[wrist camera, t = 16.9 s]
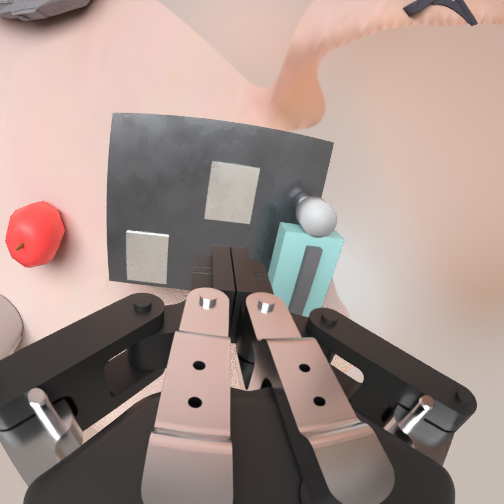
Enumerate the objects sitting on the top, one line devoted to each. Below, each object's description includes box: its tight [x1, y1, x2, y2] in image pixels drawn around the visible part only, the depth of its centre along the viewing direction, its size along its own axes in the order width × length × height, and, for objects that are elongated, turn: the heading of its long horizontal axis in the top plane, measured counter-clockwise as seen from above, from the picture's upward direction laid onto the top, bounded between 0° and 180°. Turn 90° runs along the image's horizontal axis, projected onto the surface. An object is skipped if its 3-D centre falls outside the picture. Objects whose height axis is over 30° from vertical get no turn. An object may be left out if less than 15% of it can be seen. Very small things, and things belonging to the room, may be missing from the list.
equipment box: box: [107, 113, 334, 290], centre depth 28 cm, size 16×19×10 cm
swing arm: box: [268, 196, 344, 317], centre depth 25 cm, size 18×5×3 cm, turn 169°
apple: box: [5, 201, 65, 268], centre depth 27 cm, size 8×8×8 cm
